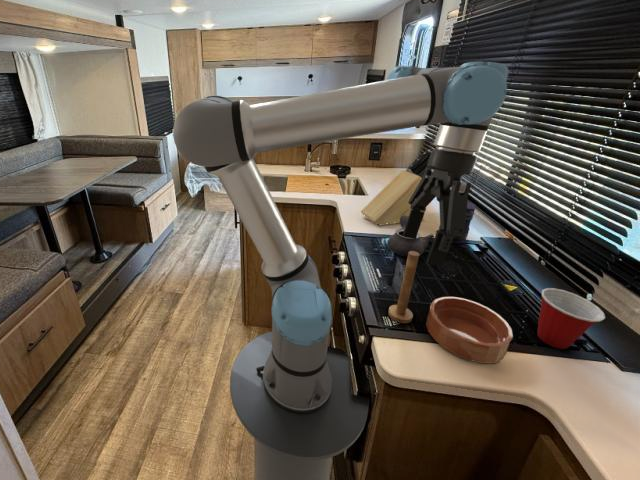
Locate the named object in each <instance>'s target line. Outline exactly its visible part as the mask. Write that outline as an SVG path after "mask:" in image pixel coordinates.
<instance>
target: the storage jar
mask: <svg viewBox="0 0 640 480" xmlns="http://www.w3.org/2000/svg"><path fill="white" fill-rule="evenodd" d="M476 207H477V206H476V204H475V203H473V202H471V201H469V200H468V202H467V213H466V224H465V234H464V236H463V237H459V236H455V237H454V238H453V240H452V243H453V244H463V243H465V242H466V241H467V238H468V235H469V231H470V224H471V222H472V220H473V218H474V215H475V210H476ZM439 229H440V225H439V226H438V230H439ZM452 243H451V244H452Z"/></svg>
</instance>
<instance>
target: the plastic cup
mask: <svg viewBox="0 0 640 480" xmlns="http://www.w3.org/2000/svg"><path fill="white" fill-rule="evenodd" d="M539 311H540V312H539V316H538V325H537V332H536V334H537V337H538V338H539V340H540V341H542V342H543V343H544V344H546V345H548V346H550V347H552V348H554V349H560V350H567V349H568V348H569V347H571V346H572V345H573V344H574V343H575V342H576V341H578V340H579V339H580V337H581V336H582V335H584V334H585V333H586V332H587V330H589V329H590V328H591V327H592V326H594V324H596V323H600V322H602V321H603V320H605V319H606V315H605V313H604V311H603V310H602V309H601V308H600V307H599V306H597V305H596V304H594V303H593V302H591V301H590V300H588V299H586V298H584V297H582V296H580V295H578V294H576V293H573V292H570V291H568V290H564V289H559V288H555V287H547V288H544V289H542V290H541V306H540V310H539Z"/></svg>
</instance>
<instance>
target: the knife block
mask: <svg viewBox="0 0 640 480" xmlns="http://www.w3.org/2000/svg"><path fill="white" fill-rule="evenodd" d="M431 152H432V150H430V149H427V150H425V151H424V152H422V153H421V154H419V156H417V158H415V159H414V161H413V162H412V163H411V164H410V165H409V166H408V167H407V168H406V169H405V170H404V169H402V170H400V171H399V173H397V175H395V176H394V177H393V178H392V179H391V180H390V181H389V182H388V183H387V184H386V186H384V187H383V188H382V190H380V191H379V192H378V193H377V195H375V196H374V197H373V198H372V199H371V200H370V201H369V202H368V204H367V205H366V206H365V207H363V208H362V209H361V210H360V213H361V214H362V216H364V215H365V216H364V217H366V218H367V217H368V218H369V219H368V218H367V219H368V220H369V221H371V220H372V221H371V222H372V223H374V222H375V223H374V224H375V225H377V224H381V225H380V226H386V225H393V224H400V217H401V216H403V215H406V216H409V214H410V211H411V210H412V209H411V204H409V203H408V202H409V200H410V198H411V196H412V195H413V193H414V191H415V189H416V188H417V186H418V184H419V183H420V181H421V179H422V178H423V175H424V173H425V170H426V169H433V168H430V167H429V166H428V161H429V158H430V155H431ZM433 170H434V169H433ZM415 200H416V199H415ZM421 212H424V216H423V218H424V217H425V214H426V210H425V211H421ZM394 222H396V223H394ZM386 223H388V224H386Z"/></svg>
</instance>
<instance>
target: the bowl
mask: <svg viewBox="0 0 640 480" xmlns="http://www.w3.org/2000/svg"><path fill="white" fill-rule="evenodd" d="M425 326H426V329H427V332H428V333H429V335H430V336H431V337H432V339H433V340H434V341H435V342H436V343H438V344H439V345H440V346H441V347H442V348H443V349H445V350H447V351H448V352H451V353H452V354H454V355H455V356H457V357H460V358H463V359H465V360H468V361H472V362H475V363H476V362H477V363H481V364H490V363H491V364H494V363H497V362H499V361H502V360H504V358H505V356H506V355H507V354H508V353H507V352H508V350H509V349H510V346H511V343H512V341H513V339H514V334H513V329H512V327H511V326H510V325H509V323H508V321H507V320H505V319H504V318H503V317H502V316H501V315H500V314H499V313H497V312H496V311H494V310H493V309H491V308H489V307H488V306H485V305H483V304H481V303H480V302H476V301H473V300H471V299H467V298H464V297H457V296H441V297H438V298H435V299H434V300H433V301H432V302H431V303H430V306H429V310H428V313H427V317H426V320H425Z"/></svg>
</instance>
